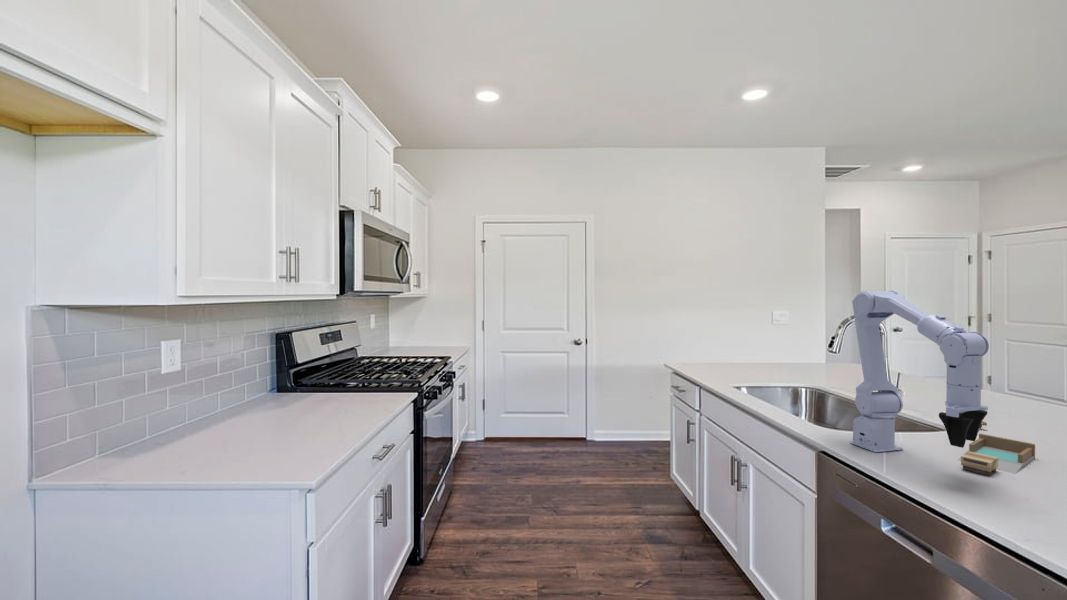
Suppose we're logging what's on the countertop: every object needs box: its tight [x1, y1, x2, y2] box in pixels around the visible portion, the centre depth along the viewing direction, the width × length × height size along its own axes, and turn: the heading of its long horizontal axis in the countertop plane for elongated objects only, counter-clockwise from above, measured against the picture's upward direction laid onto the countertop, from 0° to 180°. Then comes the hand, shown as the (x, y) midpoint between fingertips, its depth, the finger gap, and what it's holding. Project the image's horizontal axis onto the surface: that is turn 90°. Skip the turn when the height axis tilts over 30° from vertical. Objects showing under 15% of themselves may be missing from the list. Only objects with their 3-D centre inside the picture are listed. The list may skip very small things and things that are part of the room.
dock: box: [957, 433, 1036, 475], centre depth 116 cm, size 18×10×5 cm, turn 121°
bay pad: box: [975, 448, 1018, 462], centre depth 117 cm, size 7×8×1 cm
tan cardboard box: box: [960, 450, 998, 477], centre depth 109 cm, size 6×5×3 cm
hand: (962, 443), depth 103 cm, fingers open, 7 cm apart
